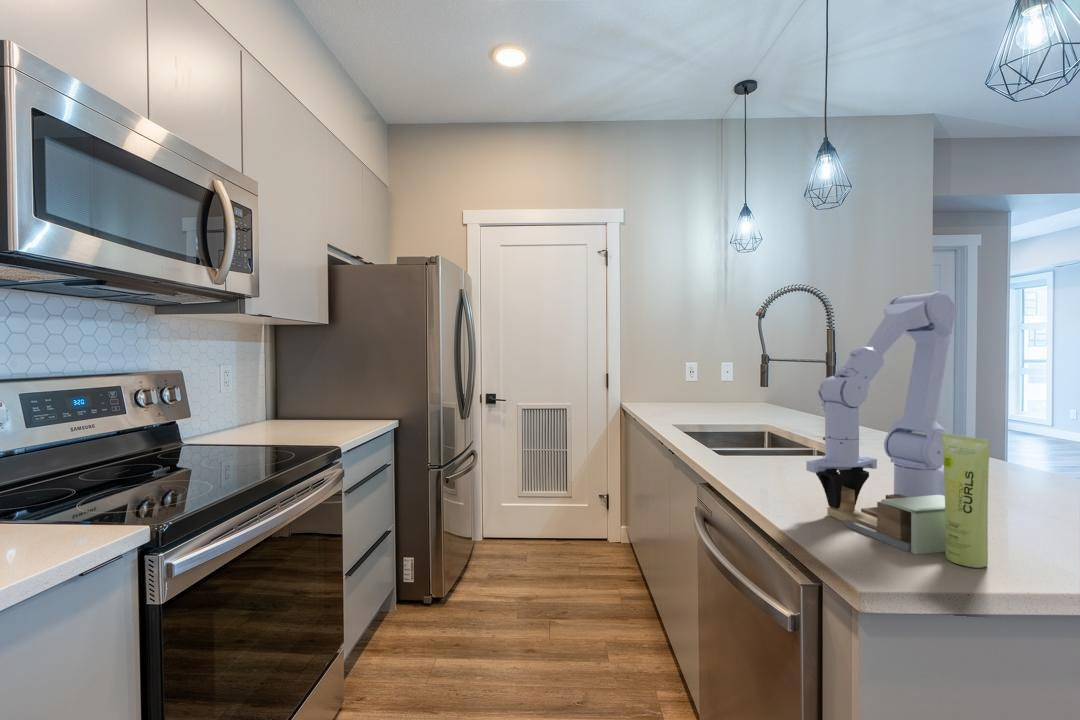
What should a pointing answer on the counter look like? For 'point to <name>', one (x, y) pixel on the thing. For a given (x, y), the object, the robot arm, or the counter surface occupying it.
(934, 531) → the shelter
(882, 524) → the cube
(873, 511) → the block brown
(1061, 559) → the counter surface
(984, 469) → the tube
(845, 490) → the tan stepped wooden piece
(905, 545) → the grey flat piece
